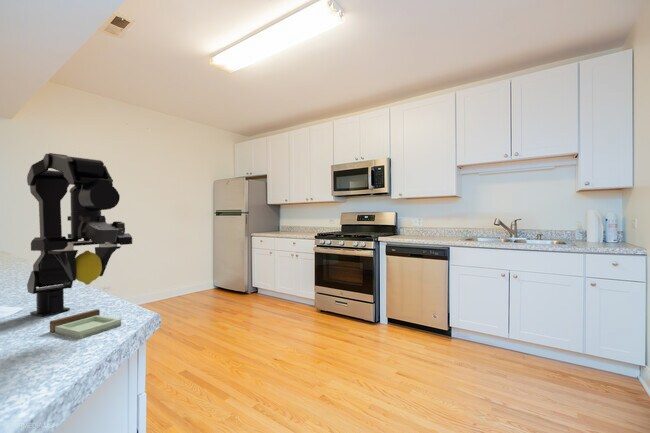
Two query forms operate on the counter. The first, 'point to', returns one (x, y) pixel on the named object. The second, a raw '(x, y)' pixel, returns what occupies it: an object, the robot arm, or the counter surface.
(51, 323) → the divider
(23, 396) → the counter surface
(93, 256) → the lemon
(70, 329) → the dish
